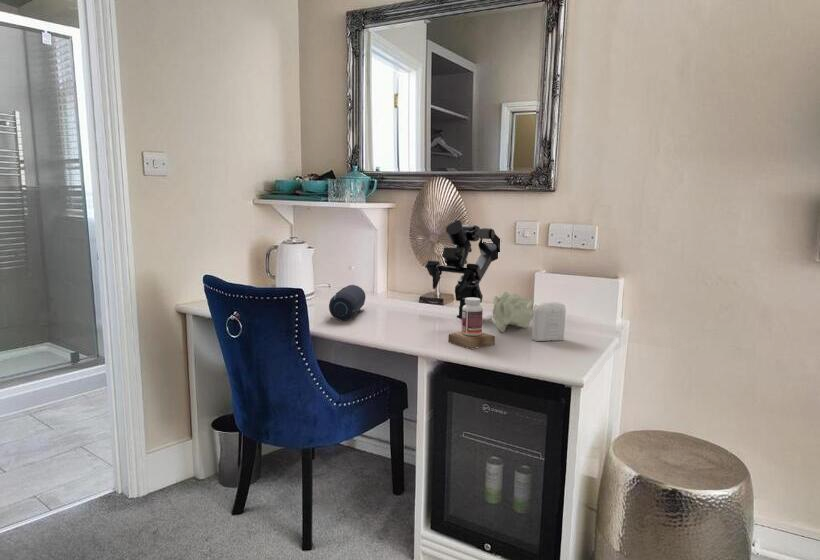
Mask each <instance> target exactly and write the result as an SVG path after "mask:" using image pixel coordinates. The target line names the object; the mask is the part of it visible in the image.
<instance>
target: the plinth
mask: <svg viewBox="0 0 820 560" xmlns="http://www.w3.org/2000/svg"><path fill="white" fill-rule="evenodd" d="M447 340H448V343H450V342H451V344H454V343H455V344H454V345H457V344H458V346H460V345H461V346H460V347H463V346H464V347H463V348H466V347H468V348H467V349H469V348H475V349H477V348H476V347H479V348H483V347H482V346H484V347H487V346H486V345H488V346H492V345H491V344H493V345H495V343H496V341H495V340H496V336H495V335H492V334H489V333H485V332H482V334H481V335H478V336H468V335H464V334H463V333H462V330H461V331H456V332H452V333H448V339H447Z"/></svg>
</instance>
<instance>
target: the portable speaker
mask: <svg viewBox="0 0 820 560" xmlns="http://www.w3.org/2000/svg"><path fill="white" fill-rule="evenodd" d="M365 302H366V293H365V291H364V289H363V288H362V287H360V286H358V285H355V284H349V285H347V286H344V287H343V288H341V289H340V290H339V291H337V292H336V293H335V294H334V295H333V296H332V297H331V298H330V301H329V304H328V310H329V313H330V314H331V316H332V318H334V319H336V320H339V321H348V320H349V319H352V318H353V317H354V316H355V315H356V313H358V311H359V310H361V308H362V307H363V306H364V305H365Z"/></svg>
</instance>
